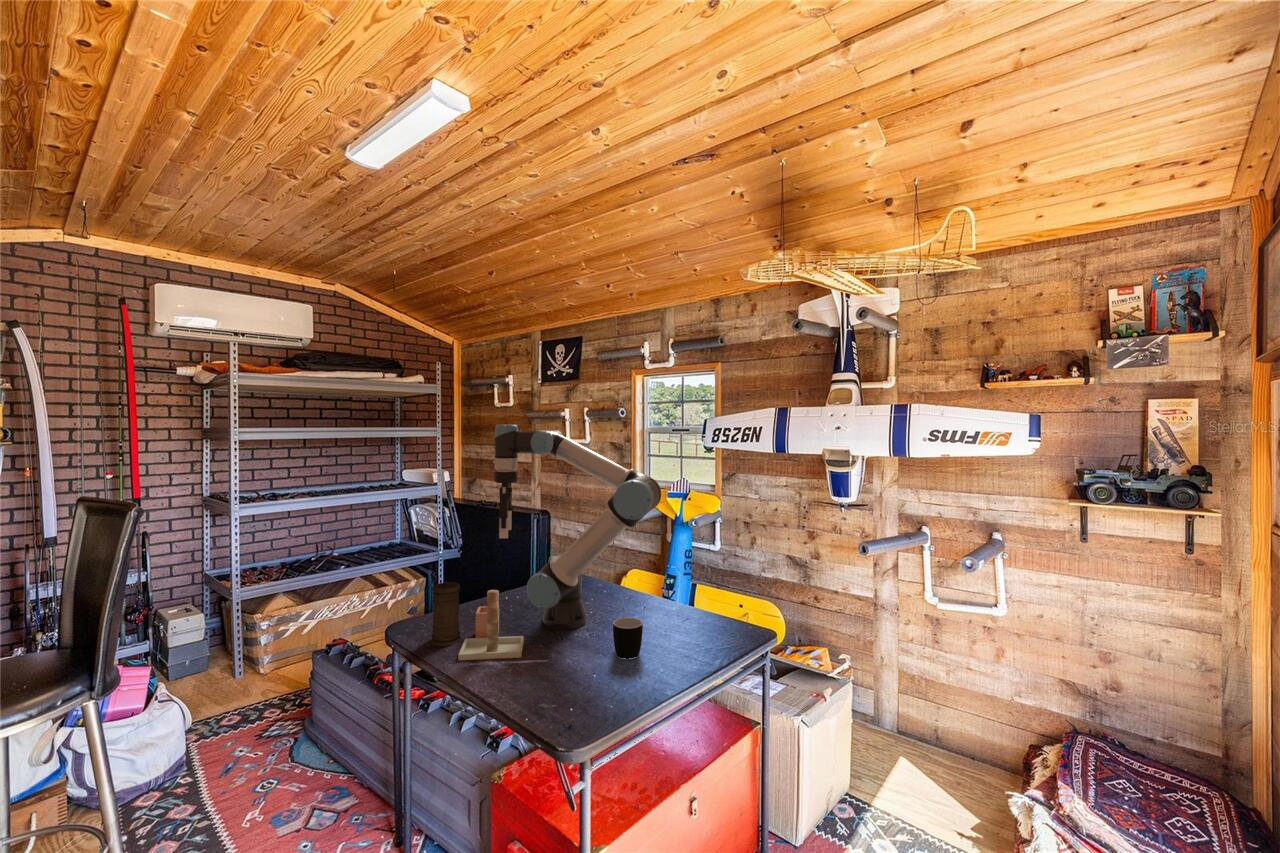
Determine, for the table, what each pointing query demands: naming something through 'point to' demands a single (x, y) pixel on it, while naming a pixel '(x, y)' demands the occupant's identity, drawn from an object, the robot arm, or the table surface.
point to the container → (445, 614)
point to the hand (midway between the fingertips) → (505, 533)
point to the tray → (478, 650)
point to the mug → (627, 637)
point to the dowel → (492, 620)
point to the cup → (482, 622)
